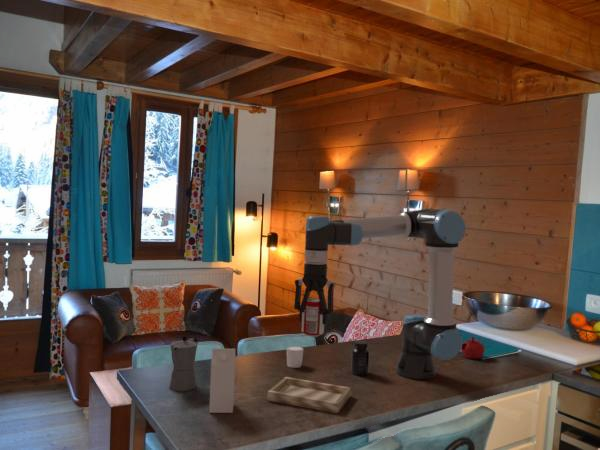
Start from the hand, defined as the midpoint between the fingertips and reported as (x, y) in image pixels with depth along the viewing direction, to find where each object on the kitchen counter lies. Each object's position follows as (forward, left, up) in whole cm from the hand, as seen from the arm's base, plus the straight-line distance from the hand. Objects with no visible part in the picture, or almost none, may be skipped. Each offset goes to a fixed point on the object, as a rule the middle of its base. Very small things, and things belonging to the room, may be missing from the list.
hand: (312, 332), depth 176 cm
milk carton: (+22, +20, -23) cm, 38 cm away
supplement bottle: (-9, -34, -23) cm, 41 cm away
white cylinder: (+17, -31, -23) cm, 42 cm away
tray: (0, 0, -22) cm, 22 cm away
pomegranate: (-49, -79, -23) cm, 95 cm away
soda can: (0, 0, -1) cm, 1 cm away
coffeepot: (+43, +8, -23) cm, 49 cm away
